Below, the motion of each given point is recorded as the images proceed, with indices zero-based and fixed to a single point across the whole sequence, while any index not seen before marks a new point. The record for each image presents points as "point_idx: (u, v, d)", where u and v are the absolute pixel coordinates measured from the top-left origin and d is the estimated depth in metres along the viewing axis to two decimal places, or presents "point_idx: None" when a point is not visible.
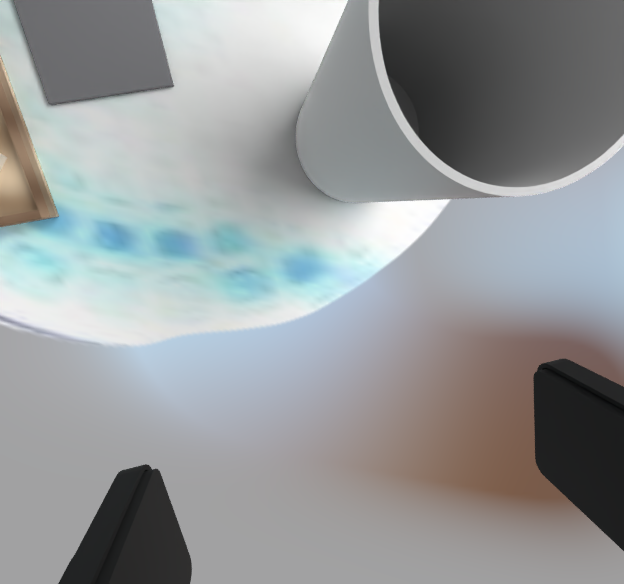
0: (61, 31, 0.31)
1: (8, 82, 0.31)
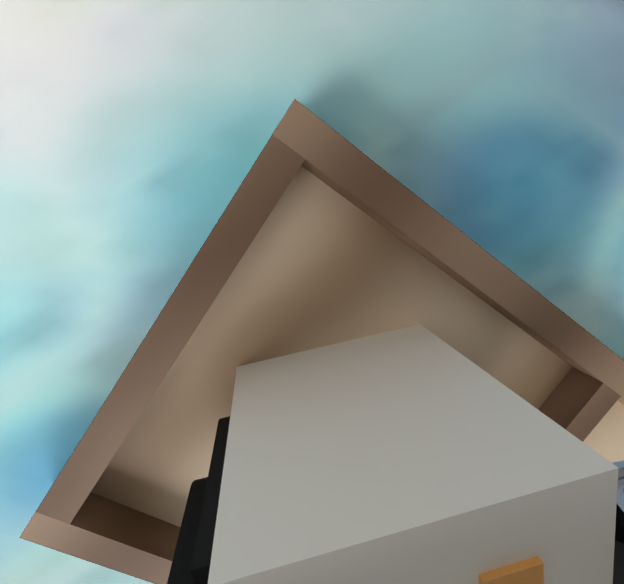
0: None
1: None
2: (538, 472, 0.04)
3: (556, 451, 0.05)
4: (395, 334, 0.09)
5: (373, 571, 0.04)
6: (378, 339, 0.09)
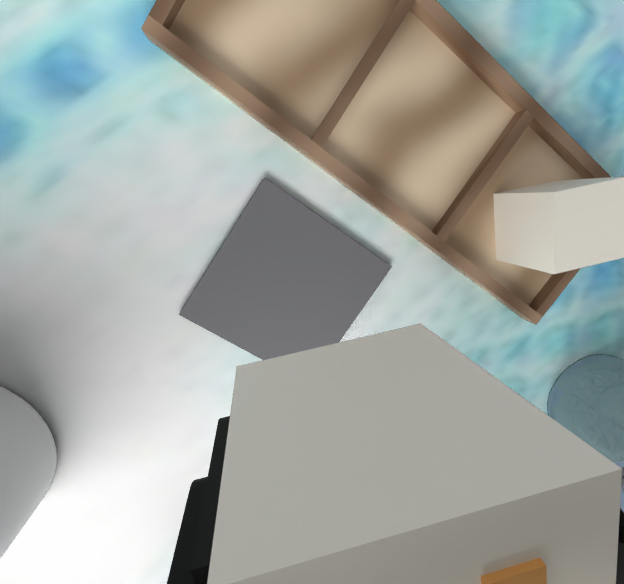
0: (306, 258, 0.25)
1: (313, 161, 0.23)
2: (541, 474, 0.04)
3: (559, 451, 0.05)
4: (396, 333, 0.09)
5: (373, 573, 0.04)
6: (378, 339, 0.09)
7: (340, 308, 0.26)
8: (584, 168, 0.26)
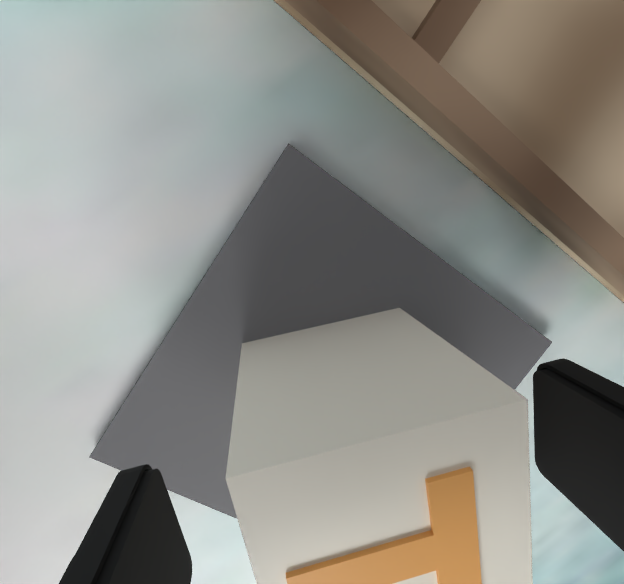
0: None
1: (404, 108, 0.10)
2: (471, 405, 0.06)
3: (487, 391, 0.06)
4: (378, 315, 0.11)
5: (345, 473, 0.06)
6: (362, 320, 0.11)
7: None
8: None
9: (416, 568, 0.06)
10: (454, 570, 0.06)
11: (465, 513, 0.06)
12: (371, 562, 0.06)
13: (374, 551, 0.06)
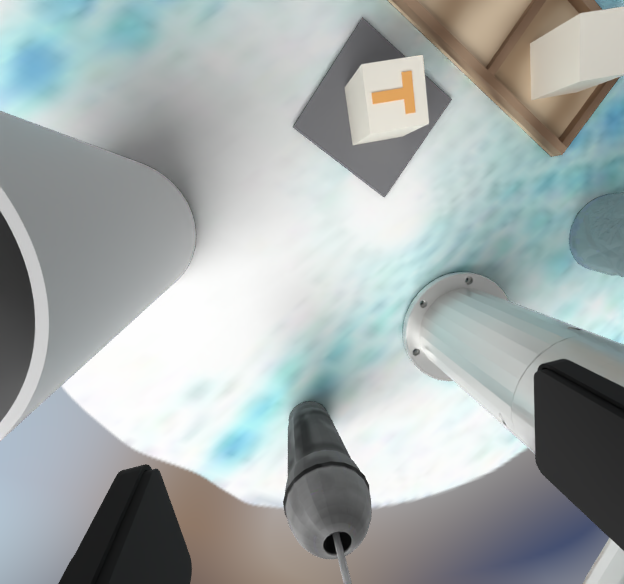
0: None
1: (397, 8, 0.32)
2: (411, 57, 0.28)
3: (415, 57, 0.28)
4: None
5: (384, 67, 0.27)
6: None
7: (411, 132, 0.34)
8: None
9: (399, 99, 0.28)
10: (408, 100, 0.28)
11: (410, 82, 0.28)
12: (389, 94, 0.28)
13: (390, 91, 0.28)
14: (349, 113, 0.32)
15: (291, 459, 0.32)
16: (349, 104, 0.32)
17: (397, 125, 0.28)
